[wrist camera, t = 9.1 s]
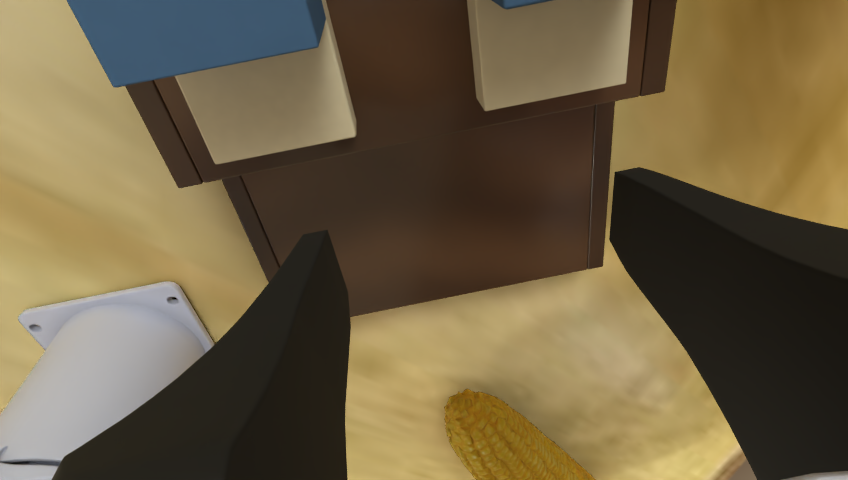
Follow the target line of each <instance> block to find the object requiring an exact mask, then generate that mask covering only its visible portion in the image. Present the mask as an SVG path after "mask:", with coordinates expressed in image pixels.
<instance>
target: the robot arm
mask: <svg viewBox="0 0 848 480" xmlns="http://www.w3.org/2000/svg"><path fill="white" fill-rule="evenodd" d="M609 240H610V242H611V244H612V246H613V247H614V249H615V251H616V253H617V255H618V257H619V259H620V261H621V262H622V264H623V266H624V268H625V269H626V271H627V272H628V274H629V275H630V277H631V278H632V279H633V281H634V282H635V283H636V285H637V286H638V287H639V289H640V290H641V291H642V293H643V294H644V295H645V297H646V298H647V299H648V300H649V302H650V303H651V304H652V306H653V307H654V308H655V310H656V311H657V312H658V313H659V315H660V316H661V317H662V319H663V320H664V321H665V323H666V324H667V325H668V327H669V328H670V329H671V330H672V332H673V333H674V334H675V336H676V337H677V338H678V340H679V341H680V343H681V344H682V346H683V347H684V348H685V350H686V351H687V353H688V354H689V356H690V358H691V359H692V361H693V363H694V364H695V366H696V368H697V369H698V371H699V373H700V374H701V376H702V378H703V379H704V381H705V383H706V384H707V386H708V388H709V390H710V391H711V393H712V395H713V397H714V398H715V400H716V402H717V404H718V406H719V407H720V409H721V411H722V413H723V414H724V416H725V418H726V420H727V422H728V423H729V425H730V427H731V429H732V431H733V433H734V435H735V437H736V439H737V441H738V443H739V445H740V446H741V448H742V450H743V452H744V454H745V456H746V458H747V460H748V462H749V464H750V465H751V468H752V470H753V472H754V474H755V476H756V478H757V480H848V229H843V228H838V227H833V226H828V225H823V224H819V223H815V222H811V221H807V220H803V219H798V218H794V217H790V216H786V215H782V214H779V213H775V212H772V211H768V210H765V209H762V208H758V207H755V206H752V205H749V204H745V203H742V202H739V201H736V200H733V199H730V198H727V197H724V196H721V195H719V194H716V193H713V192H710V191H707V190H704V189H702V188H699V187H696V186H694V185H691V184H688V183H685V182H683V181H680V180H677V179H674V178H672V177H669V176H666V175H663V174H660V173H657V172H654V171H651V170H648V169H644V168H640V167H638V168H633V169H628V170H623V171H618V172H615V177H614V189H613V201H612V214H611V226H610V238H609ZM171 297H175V298H177V299H172V298H171ZM18 320H19V322H20V323H21V324H22V325H23V327H24V328H25V329H26V330H27V331H28V332H29V333H30V334H31V335H32V336H33V338H34V339H35V340H36V341H37V342H38V343H39V344H40V345H41V346H42V347H43V349H44V350H45V352H44V353H43V355H42V356H41V357H40V359H39V360H38V362H37V363H36V364H35V366H34V367H33V369H32V370H31V372H30V373H29V374H28V376H27V377H26V379H25V380H24V381H23V383H22V384H21V386H20V387H19V389H18V390H17V391H16V393H15V394H14V396H13V397H12V399H11V400H10V401H9V403H8V404H7V406H6V407H5V408H4V410H3V411H2V413H1V414H0V480H347V462H346V437H345V402H346V388H347V373H348V359H349V344H350V310H349V297H348V290H347V287H346V284H345V281H344V278H343V275H342V272H341V269H340V266H339V263H338V260H337V257H336V254H335V251H334V248H333V245H332V242H331V239H330V236H329V233H328V230H323V231H318V232H313V233H308V234H303V235H302V237H301V238H300V239H299V241H298V242H297V244H296V245H295V247H294V248H293V249H292V251H291V252H290V254H289V255H288V257H287V258H286V260H285V261H284V263H283V264H282V265H281V267H280V268H279V270H278V271H277V272H276V274H275V275H274V277H273V278H272V279H271V281H270V282H269V284H268V285H267V286H266V287H265V289H264V290H263V291H262V292H261V294H260V295H259V296H258V297H257V299H256V300H255V301H254V302H253V304H252V305H251V306H250V307H249V308H248V310H247V311H246V312H245V313H244V314H243V316H242V317H241V318H240V319H239V320H238V321H237V322H236V323H235V324H234V326H233V327H232V328H231V329H230V330H229V331H228V332H227V333H226V334H225V335H224V336H223V337H222V338H221V339H220V340H219V341H218V342H217V343H216V344H214V342H213V341H212V339H211V337H210V336H209V334H208V332H207V331H206V329H205V327H204V326H203V324H202V322H201V321H200V319H199V317H198V316H197V314H196V312H195V311H194V309H193V307H192V306H191V304H190V302H189V301H188V299H187V297H186V296H185V294H184V292H183V291H182V289H181V287H180V286H179V285H178V284H176V283H175V282H171V281H165V282H160V283H155V284H150V285H145V286H140V287H135V288H130V289H125V290H120V291H115V292H110V293H105V294H100V295H95V296H90V297H85V298H80V299H75V300H70V301H65V302H60V303H55V304H50V305H45V306H40V307H35V308H30V309H26V310H23V312H22V313H21V314H20V315H19V316H18ZM37 325H38V326H37Z"/></svg>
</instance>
